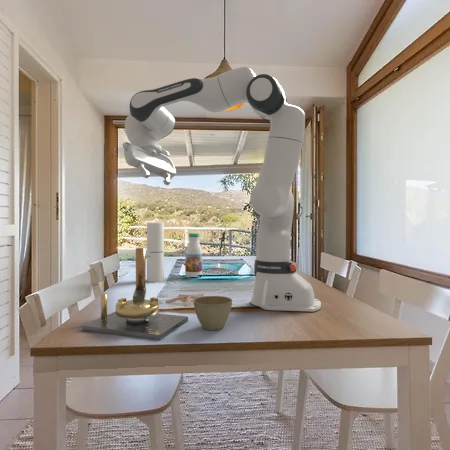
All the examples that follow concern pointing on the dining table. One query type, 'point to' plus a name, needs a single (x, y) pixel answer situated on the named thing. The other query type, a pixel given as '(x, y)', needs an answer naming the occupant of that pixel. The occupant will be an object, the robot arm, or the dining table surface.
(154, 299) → the crank handle
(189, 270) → the milk bottle
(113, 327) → the flange base
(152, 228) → the cylindrical container
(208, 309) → the flower pot
